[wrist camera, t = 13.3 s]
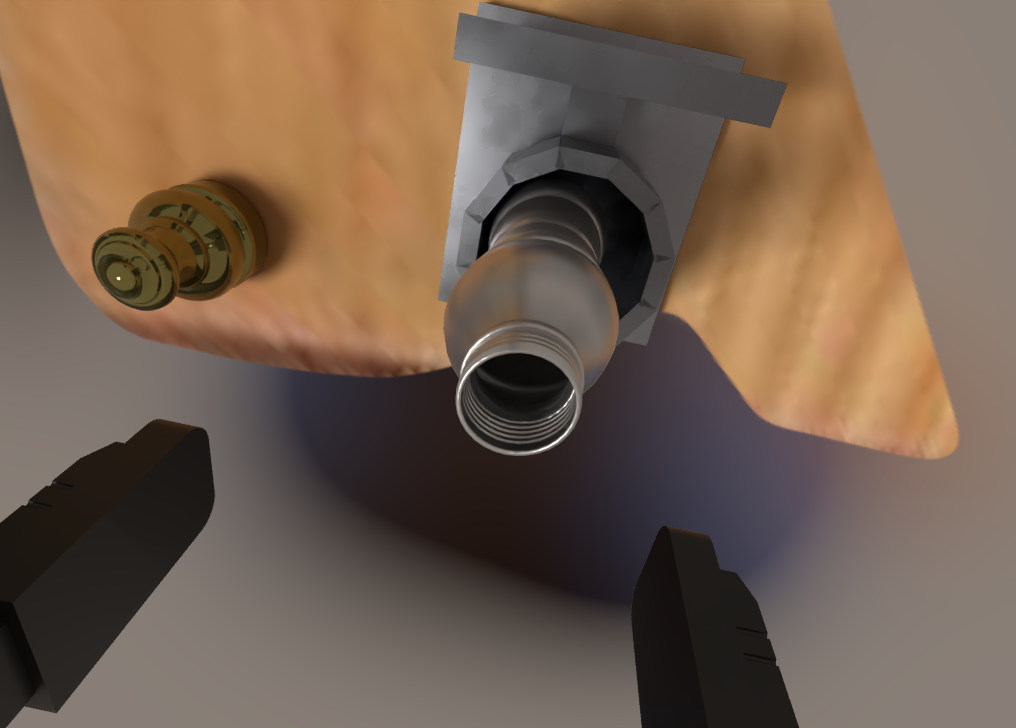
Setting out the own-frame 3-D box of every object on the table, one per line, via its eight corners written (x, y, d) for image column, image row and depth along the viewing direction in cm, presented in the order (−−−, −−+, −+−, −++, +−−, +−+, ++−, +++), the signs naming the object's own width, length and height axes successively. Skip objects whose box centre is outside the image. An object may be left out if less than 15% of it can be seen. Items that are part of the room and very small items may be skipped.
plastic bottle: (628, 228, 33) (687, 410, 15) (544, 301, 36) (513, 527, 18) (553, 145, 31) (524, 242, 14) (471, 228, 34) (359, 398, 16)
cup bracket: (482, 3, 32) (422, -39, 20) (739, 59, 32) (845, 52, 19) (441, 294, 41) (381, 394, 28) (644, 338, 40) (674, 458, 28)
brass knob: (149, 195, 40) (26, 231, 31) (238, 165, 38) (136, 194, 29) (202, 291, 43) (105, 349, 34) (287, 267, 41) (208, 321, 32)
